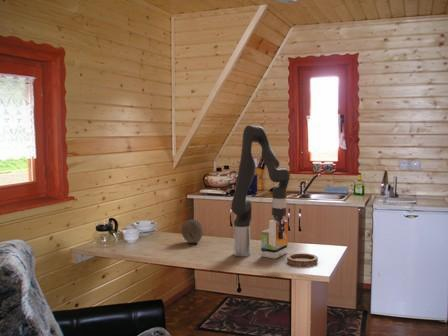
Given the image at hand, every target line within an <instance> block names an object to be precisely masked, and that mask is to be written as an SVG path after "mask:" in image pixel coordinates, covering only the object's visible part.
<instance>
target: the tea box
mask: <svg viewBox="0 0 448 336" xmlns="http://www.w3.org/2000/svg"><path fill="white" fill-rule="evenodd" d="M260 235H261V237H260V241H261V242H260V249H261V250H260V257H262V258H267V259H268V258H270V259H276V260H277V258H279V257H281V256H283V255H285V254H286V255H287V253H288V245H285V246H277V247H275V246H272V245H269V228H267V229H264V230H262V231H261V234H260Z"/></svg>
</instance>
